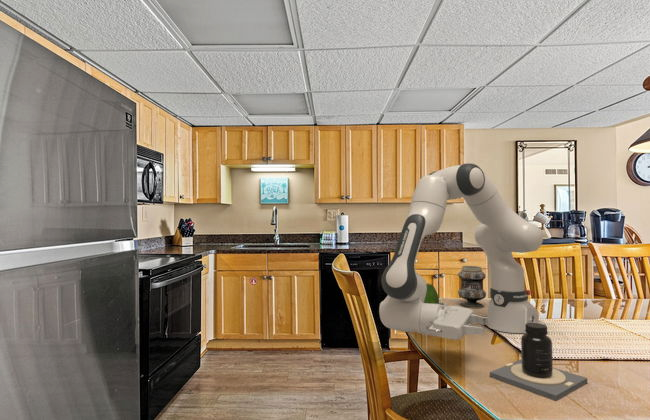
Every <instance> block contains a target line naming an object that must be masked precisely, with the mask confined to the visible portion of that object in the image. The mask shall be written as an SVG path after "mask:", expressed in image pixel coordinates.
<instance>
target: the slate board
mask: <svg viewBox="0 0 650 420" xmlns="http://www.w3.org/2000/svg"><path fill="white" fill-rule="evenodd" d="M489 377H490V378H493V379H495V380H498V381H500V382H503V383H506V384H508V385H512V386H515V387H517V388H520V389H522V390H525V391H528V392H531V393H533V394H536V395H539V396H541V397H544V398H547V399H550V400H552V401H555V402H557V401H558V400H560V399H562V398H564V397H566V396H567V395H569V394H571V393H572V392H575V391H576V390H578V389H579V388H581V387H583V386H584V385H586V384H588V377H586V376H582V375H578V374H575V373H572V372H568V371H567V370H565V371H564V370H563V369H559V368H555V367H553V374H552V376H551V377H549V378H536V377H532V376H529V375H527V374H525V373H524V372H523V371H522V358H521V359H519V360H515V361H514V362H509V363H506V364H504V365H503V366H501V367H498V368H496V369H492V370H491V371H489Z"/></svg>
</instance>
